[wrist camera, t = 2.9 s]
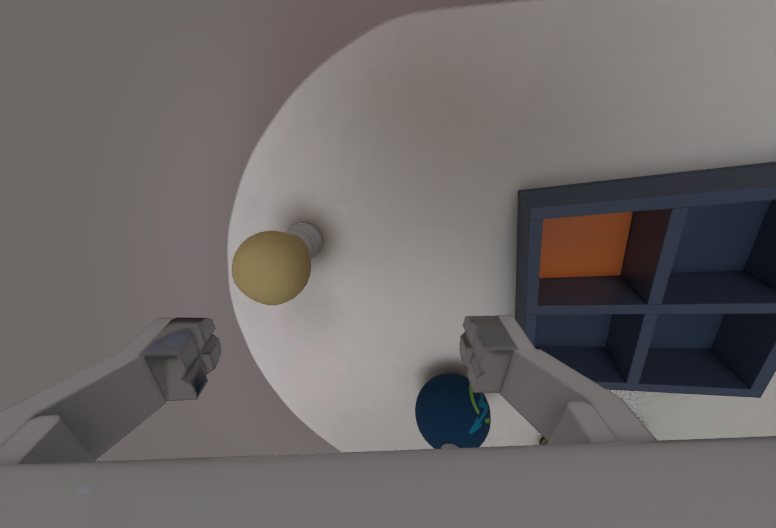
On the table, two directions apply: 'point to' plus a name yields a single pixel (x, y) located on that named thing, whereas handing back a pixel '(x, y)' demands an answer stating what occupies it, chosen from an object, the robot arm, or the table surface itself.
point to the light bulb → (276, 263)
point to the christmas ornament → (452, 413)
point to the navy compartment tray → (654, 279)
